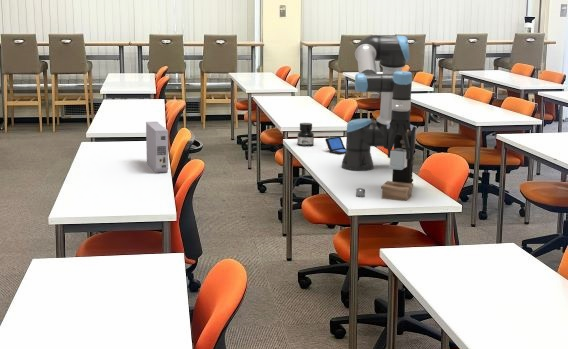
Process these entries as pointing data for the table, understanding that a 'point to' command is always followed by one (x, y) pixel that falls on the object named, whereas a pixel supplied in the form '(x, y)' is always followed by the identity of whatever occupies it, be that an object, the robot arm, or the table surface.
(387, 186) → the stand
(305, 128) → the ink bottle
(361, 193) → the dark grey metallic dome
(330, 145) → the handheld game console
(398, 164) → the housing
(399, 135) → the black carrying case
